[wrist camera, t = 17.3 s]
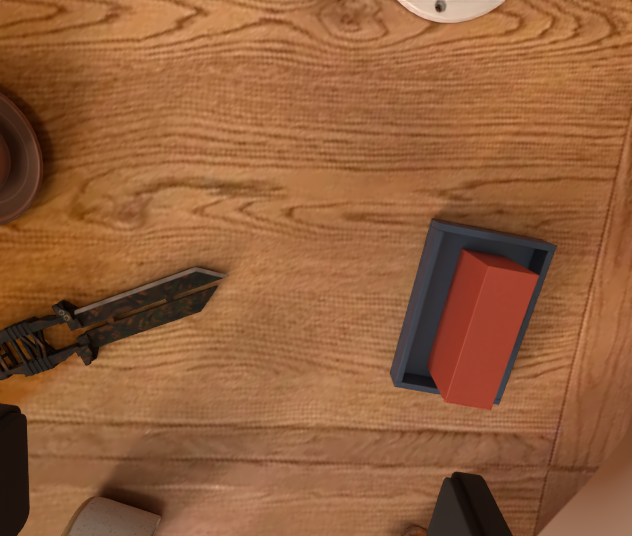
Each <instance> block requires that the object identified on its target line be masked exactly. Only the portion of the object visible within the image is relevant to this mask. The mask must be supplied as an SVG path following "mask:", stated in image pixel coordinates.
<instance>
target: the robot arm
mask: <svg viewBox="0 0 632 536" xmlns="http://www.w3.org/2000/svg"><path fill="white" fill-rule="evenodd" d="M397 1H398V2H400V3H401V4H402V5H403V6H404V7H406V8H407V9H408V10H409V11H411V12H413V13H415V14H416V15H418V16H420V17H422V18H424V19H428V20H432V21H435V22H442V23H457V22H463V21H469V20H472V19H475V18H477V17H480V16H483V15H485V14H487V13H488V12H490V11H491V10H493V9H495V8H496V7H498V6H499V5H501V4H502V3H503V2H504V1H505V0H397ZM435 7H440V12H437V11H436V9H435ZM29 509H30V506H29V476H28V445H27V419H26V416H25V415H24V414H21V410H20V408H19V407H18V406H15V405H8V404H1V403H0V536H17V535H18V533H19V532H20V531H21V529H22V528H23V527H24V525H25V523H26V521H27V518H28V515H29ZM426 536H513V535H512V533H511V531H510V529H509V527H508V525H507V523H506V522H505V520H504V518H503V516H502V514H501V512H500V510H499V508H498V506H497V504H496V502H495V500H494V498H493V496H492V494H491V492H490V490H489V488H488V486H487V484H486V482H485V480H484V479H483V477H482V476H480V475H475V474H469V473H462V472H454V473H453V474H452V476H451V478H448V477H446V478H445V479H444V481H443V484H442V487H441V490H440V493H439V496H438V499H437V502H436V505H435V509H434V512H433V515H432V518H431V521H430V524H429V527H428V530H427V534H426Z"/></svg>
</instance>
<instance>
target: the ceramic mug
mask: <svg viewBox="0 0 632 536" xmlns="http://www.w3.org/2000/svg"><path fill="white" fill-rule="evenodd" d="M160 520H161V517H160V516H159V515H157V514H153V513H150V512H147V511H144V510H141V509H138V508H135V507H132V506H129V505H125V504H122V503H119V502H117V501H114V500H111V499H107V498H102V497H91V498H89V499H87V500H86V501H84V502H83V503H82V505H81V506H80V507H79V508H78V509H77V511H76V512H75V513H74V515H73V517H72V518H71V520H70V521H69V523H68V524H67V526H66V528H65V529H64V531H63V533H62V535H61V536H154V534H155V532H156V530H157V528H158V525H159V523H160Z"/></svg>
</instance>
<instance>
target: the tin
mask: <svg viewBox="0 0 632 536" xmlns="http://www.w3.org/2000/svg"><path fill="white" fill-rule="evenodd" d="M426 534H427V531H426V530H424V529H422V528H420V527H409V528H407V529H406V530H405V531H404V533H403V534H402V535H401V536H426Z"/></svg>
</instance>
